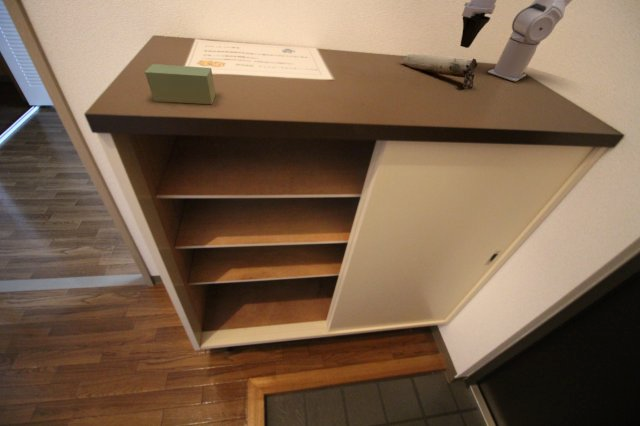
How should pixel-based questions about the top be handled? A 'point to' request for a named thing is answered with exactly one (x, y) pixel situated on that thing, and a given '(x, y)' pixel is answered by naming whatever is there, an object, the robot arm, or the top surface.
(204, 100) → the green rectangular block
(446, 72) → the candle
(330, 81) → the top surface
